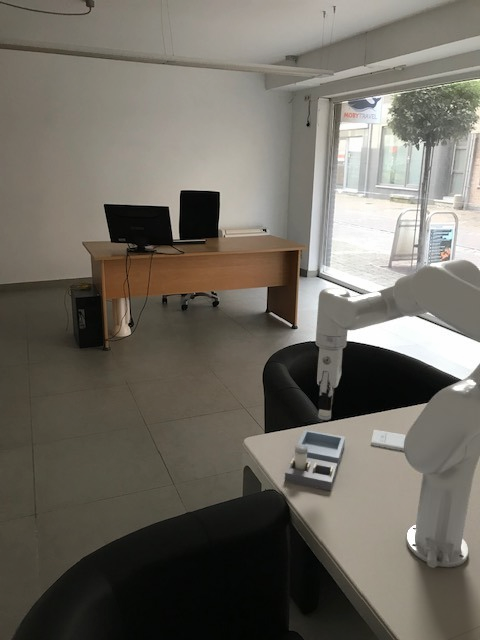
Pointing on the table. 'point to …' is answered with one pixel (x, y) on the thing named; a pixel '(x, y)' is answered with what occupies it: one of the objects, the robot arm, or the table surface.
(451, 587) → the table surface
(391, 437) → the external hard drive
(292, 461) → the fuse holder
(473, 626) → the table surface
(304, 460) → the fuse
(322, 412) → the marked fuse
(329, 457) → the tray
